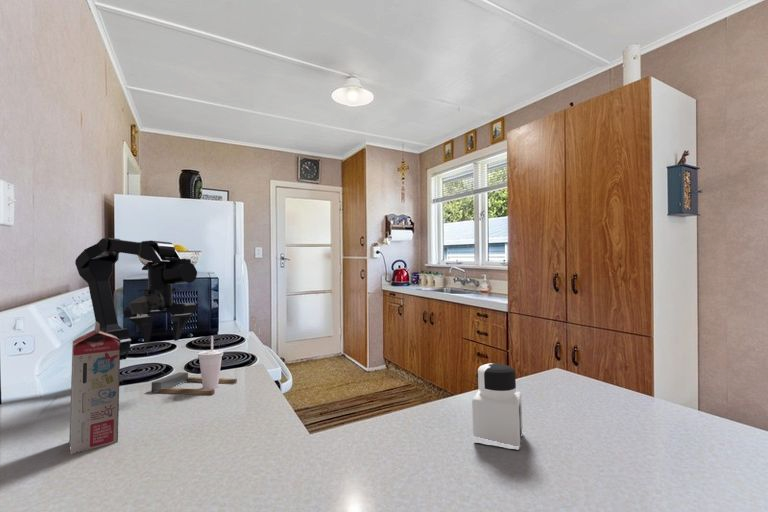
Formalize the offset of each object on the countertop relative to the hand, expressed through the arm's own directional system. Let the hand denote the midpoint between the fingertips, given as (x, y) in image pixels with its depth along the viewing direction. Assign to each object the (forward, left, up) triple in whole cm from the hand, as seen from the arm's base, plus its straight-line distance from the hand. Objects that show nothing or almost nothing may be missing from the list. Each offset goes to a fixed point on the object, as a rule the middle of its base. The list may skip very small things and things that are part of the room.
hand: (161, 341), depth 99 cm
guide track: (+7, +6, -13) cm, 16 cm away
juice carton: (+26, -21, -13) cm, 36 cm away
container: (+86, +24, -13) cm, 90 cm away
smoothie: (+11, +8, -13) cm, 19 cm away
